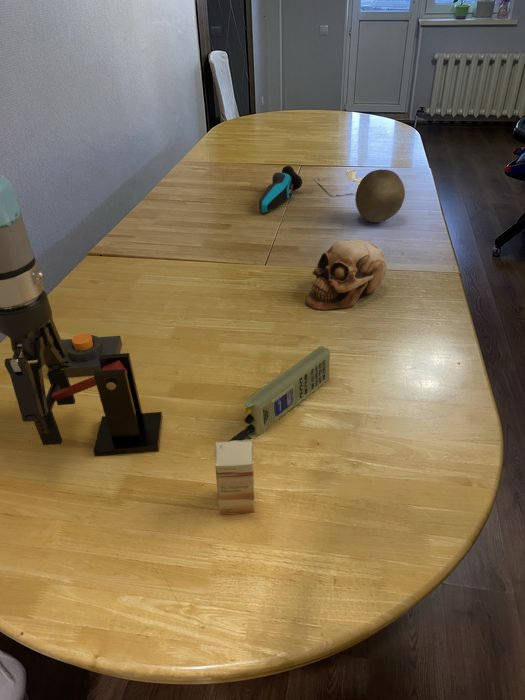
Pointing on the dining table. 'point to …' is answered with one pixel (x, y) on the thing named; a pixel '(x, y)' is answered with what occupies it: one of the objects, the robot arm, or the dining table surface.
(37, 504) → the dining table surface
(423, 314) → the dining table surface
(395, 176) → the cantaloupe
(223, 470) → the small printed carton
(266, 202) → the electric shaver
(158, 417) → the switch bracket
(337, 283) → the tan skull
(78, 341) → the button
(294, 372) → the handheld radio
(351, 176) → the teacup and saucer
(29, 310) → the robot arm
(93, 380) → the switch lever
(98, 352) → the control block
